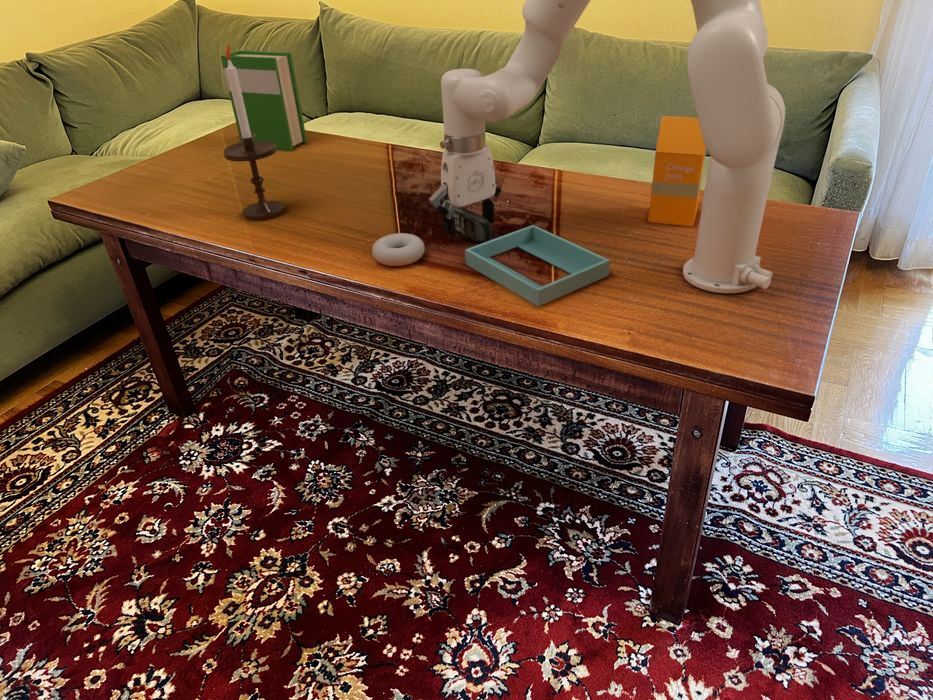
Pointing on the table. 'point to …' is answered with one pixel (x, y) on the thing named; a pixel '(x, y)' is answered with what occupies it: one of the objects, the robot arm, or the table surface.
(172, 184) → the table surface
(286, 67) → the hardback book
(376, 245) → the donut
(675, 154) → the orange juice
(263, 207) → the candlestick
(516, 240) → the rectangular frame
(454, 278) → the table surface
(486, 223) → the mobile phone
